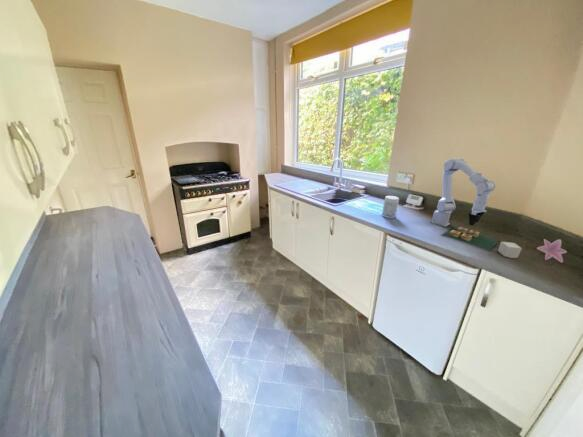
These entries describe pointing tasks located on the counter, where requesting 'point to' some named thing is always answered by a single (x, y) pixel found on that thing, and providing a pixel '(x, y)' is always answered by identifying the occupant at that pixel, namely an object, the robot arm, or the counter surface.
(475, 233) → the letter t
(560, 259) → the lily
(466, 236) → the letter o
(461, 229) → the letter i
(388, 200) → the supplement tub
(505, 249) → the white cube
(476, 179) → the robot arm
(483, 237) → the word mat
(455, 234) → the letter s
